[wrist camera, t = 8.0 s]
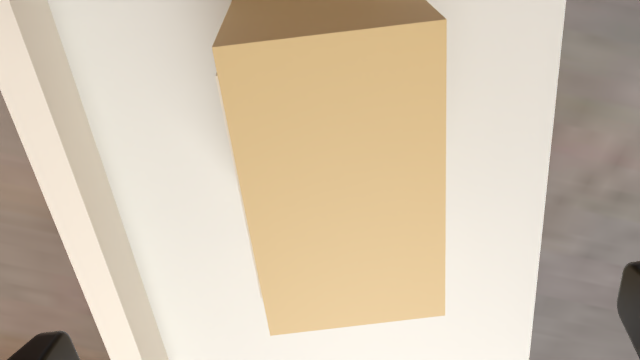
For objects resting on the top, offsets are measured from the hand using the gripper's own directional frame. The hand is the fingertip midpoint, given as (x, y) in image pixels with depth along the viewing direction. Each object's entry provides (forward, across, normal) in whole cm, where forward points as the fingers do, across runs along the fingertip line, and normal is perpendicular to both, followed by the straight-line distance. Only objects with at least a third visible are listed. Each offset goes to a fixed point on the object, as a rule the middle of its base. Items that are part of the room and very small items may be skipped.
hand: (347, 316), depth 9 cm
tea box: (+9, 0, 0) cm, 9 cm away
